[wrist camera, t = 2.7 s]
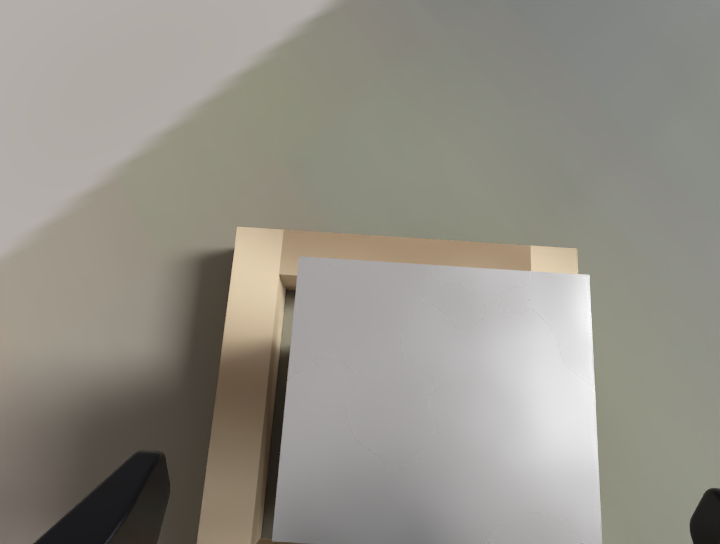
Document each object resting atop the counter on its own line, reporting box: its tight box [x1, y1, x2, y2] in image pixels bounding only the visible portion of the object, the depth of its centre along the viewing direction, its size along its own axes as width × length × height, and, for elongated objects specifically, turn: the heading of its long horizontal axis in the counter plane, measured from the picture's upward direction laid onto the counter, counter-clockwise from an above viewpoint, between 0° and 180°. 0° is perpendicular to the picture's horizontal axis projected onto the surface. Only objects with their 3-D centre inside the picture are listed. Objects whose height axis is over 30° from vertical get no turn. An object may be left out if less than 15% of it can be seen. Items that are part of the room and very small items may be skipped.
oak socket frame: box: [197, 227, 578, 544], centre depth 18 cm, size 11×11×2 cm
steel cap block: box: [272, 256, 602, 544], centre depth 14 cm, size 4×5×10 cm
